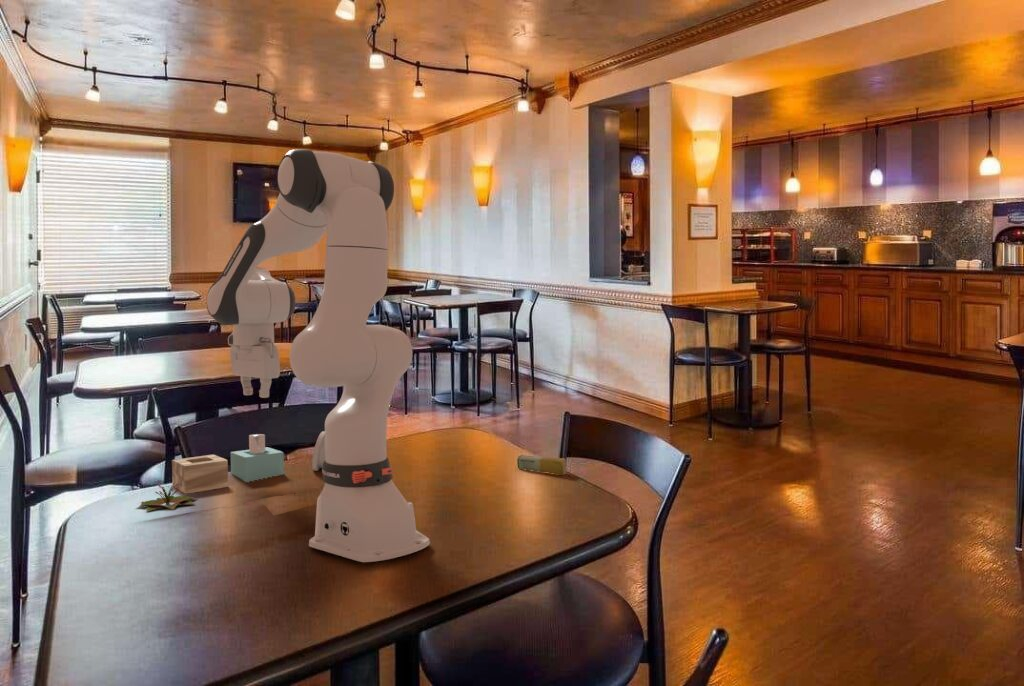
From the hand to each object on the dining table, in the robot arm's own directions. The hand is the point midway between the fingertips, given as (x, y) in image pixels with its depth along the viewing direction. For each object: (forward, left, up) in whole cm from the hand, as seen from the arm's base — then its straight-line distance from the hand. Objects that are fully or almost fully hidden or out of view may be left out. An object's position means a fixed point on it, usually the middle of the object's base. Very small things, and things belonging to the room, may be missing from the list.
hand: (256, 396), depth 163 cm
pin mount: (0, +13, -19) cm, 23 cm away
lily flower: (-10, +23, -20) cm, 32 cm away
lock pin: (0, 0, -18) cm, 18 cm away
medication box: (-45, -50, -20) cm, 70 cm away
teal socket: (0, 0, -19) cm, 19 cm away
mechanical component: (-6, -14, -20) cm, 25 cm away
